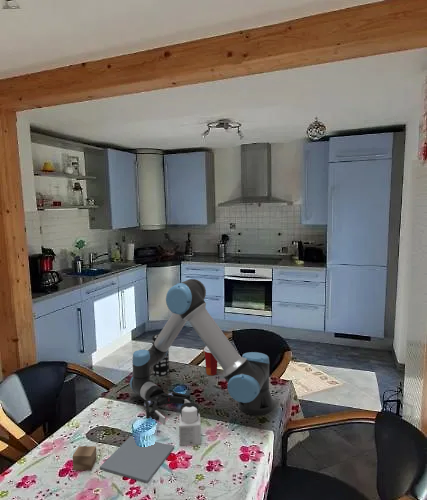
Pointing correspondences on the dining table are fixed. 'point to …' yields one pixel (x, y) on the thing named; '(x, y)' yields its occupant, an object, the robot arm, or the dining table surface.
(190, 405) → the container
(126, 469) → the slate plate
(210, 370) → the paper cup
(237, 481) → the dining table surface
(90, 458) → the walnut block
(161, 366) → the white-spotted black cylinder
